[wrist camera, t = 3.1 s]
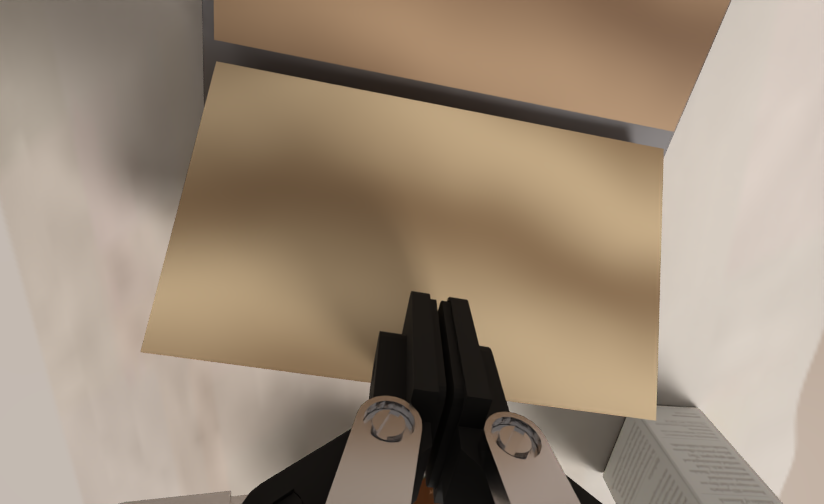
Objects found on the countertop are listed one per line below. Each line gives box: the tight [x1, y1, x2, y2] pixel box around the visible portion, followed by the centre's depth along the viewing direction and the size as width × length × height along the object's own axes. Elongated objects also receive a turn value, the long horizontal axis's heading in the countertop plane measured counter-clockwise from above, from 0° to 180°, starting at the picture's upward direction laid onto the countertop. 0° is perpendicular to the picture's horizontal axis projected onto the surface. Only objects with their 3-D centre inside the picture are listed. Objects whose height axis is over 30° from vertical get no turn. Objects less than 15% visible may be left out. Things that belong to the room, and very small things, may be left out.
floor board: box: [202, 0, 731, 158], centre depth 16 cm, size 20×18×2 cm
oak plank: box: [141, 61, 664, 421], centre depth 14 cm, size 10×16×2 cm
